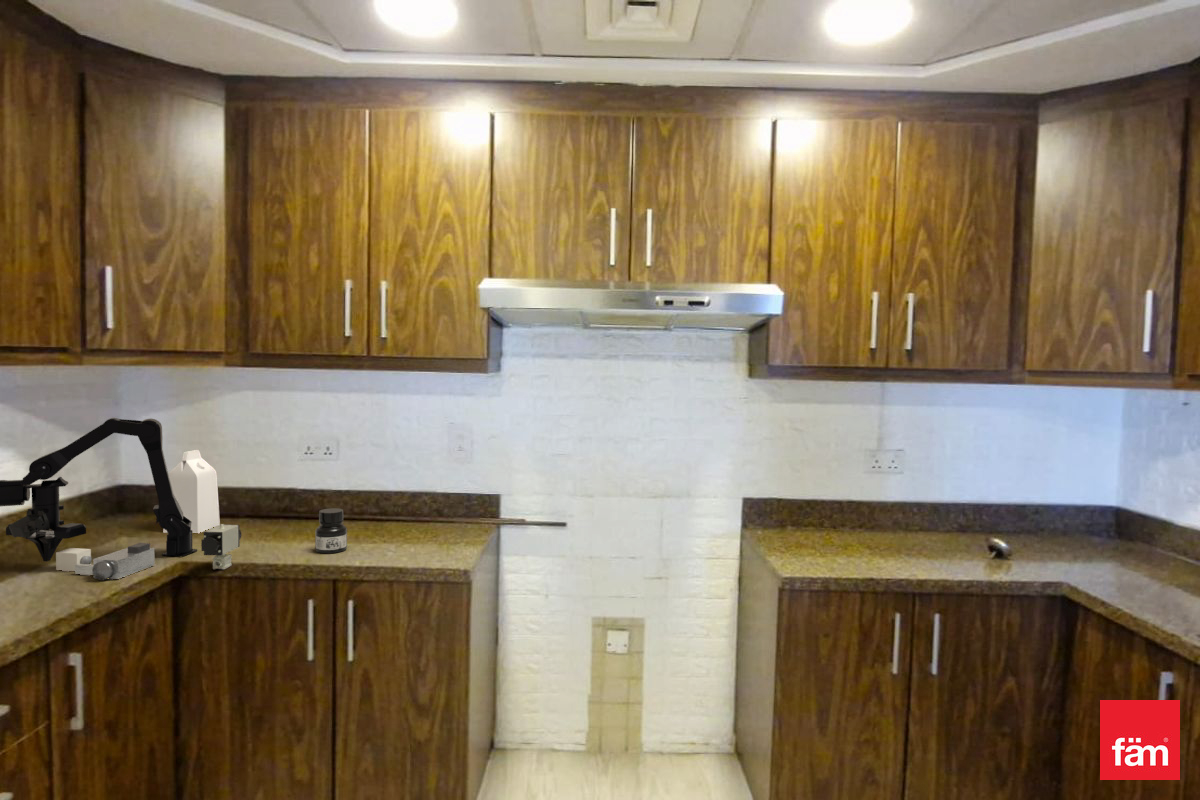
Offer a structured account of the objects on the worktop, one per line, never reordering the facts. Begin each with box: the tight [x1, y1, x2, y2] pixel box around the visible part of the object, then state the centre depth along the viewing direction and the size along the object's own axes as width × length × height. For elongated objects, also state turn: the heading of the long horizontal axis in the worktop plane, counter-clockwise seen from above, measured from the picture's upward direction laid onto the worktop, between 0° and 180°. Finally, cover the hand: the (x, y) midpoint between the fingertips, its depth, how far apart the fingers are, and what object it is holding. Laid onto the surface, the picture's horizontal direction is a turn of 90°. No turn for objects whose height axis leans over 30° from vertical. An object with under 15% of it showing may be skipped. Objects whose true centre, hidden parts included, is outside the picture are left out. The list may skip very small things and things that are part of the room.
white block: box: [55, 547, 93, 572], centre depth 181 cm, size 4×7×5 cm, turn 84°
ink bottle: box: [314, 507, 348, 554], centre depth 204 cm, size 10×9×12 cm
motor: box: [74, 542, 156, 581], centre depth 179 cm, size 14×14×6 cm
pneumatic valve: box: [200, 523, 243, 571], centre depth 185 cm, size 6×12×12 cm, turn 179°
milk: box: [162, 449, 221, 534], centre depth 226 cm, size 12×12×26 cm
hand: (46, 561), depth 182 cm, fingers closed
